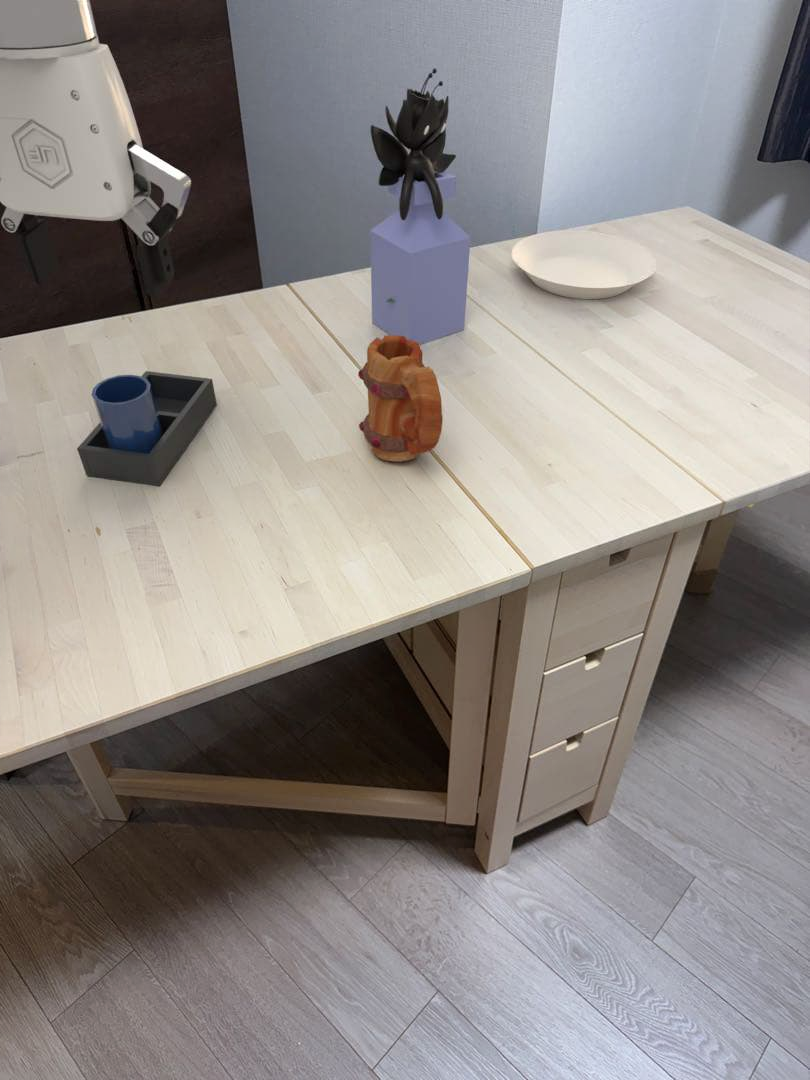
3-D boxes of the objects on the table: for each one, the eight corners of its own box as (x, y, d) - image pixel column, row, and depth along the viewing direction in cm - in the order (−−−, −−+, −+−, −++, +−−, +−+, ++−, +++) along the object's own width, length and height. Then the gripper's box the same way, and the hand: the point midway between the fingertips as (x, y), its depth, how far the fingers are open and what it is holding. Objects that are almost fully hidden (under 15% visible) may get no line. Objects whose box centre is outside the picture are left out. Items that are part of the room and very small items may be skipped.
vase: (397, 357, 111) (399, 89, 87) (356, 327, 118) (347, 70, 94) (472, 332, 117) (492, 74, 93) (429, 304, 124) (437, 58, 100)
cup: (102, 464, 90) (81, 400, 83) (127, 434, 94) (108, 372, 88) (152, 471, 89) (134, 407, 83) (174, 441, 93) (159, 378, 87)
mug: (351, 437, 96) (346, 329, 85) (408, 422, 98) (410, 316, 88) (398, 504, 86) (399, 392, 76) (460, 486, 89) (469, 375, 78)
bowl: (501, 299, 126) (503, 279, 123) (517, 243, 143) (520, 224, 141) (652, 316, 122) (658, 295, 119) (650, 256, 140) (655, 237, 137)
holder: (86, 476, 89) (76, 448, 86) (152, 397, 102) (145, 370, 99) (159, 486, 88) (152, 458, 85) (217, 405, 101) (212, 378, 98)
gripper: (-133, 24, 45) (-25, 293, 57) (131, 38, 43) (187, 316, 55) (-54, 6, 51) (29, 255, 62) (184, 17, 48) (225, 274, 60)
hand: (103, 283), depth 58 cm, fingers open, 9 cm apart
